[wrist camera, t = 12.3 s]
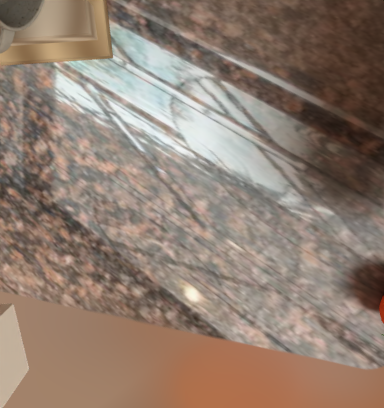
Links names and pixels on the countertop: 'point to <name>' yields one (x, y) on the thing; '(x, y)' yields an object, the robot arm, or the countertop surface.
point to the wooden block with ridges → (63, 34)
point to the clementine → (382, 309)
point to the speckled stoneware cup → (16, 18)
